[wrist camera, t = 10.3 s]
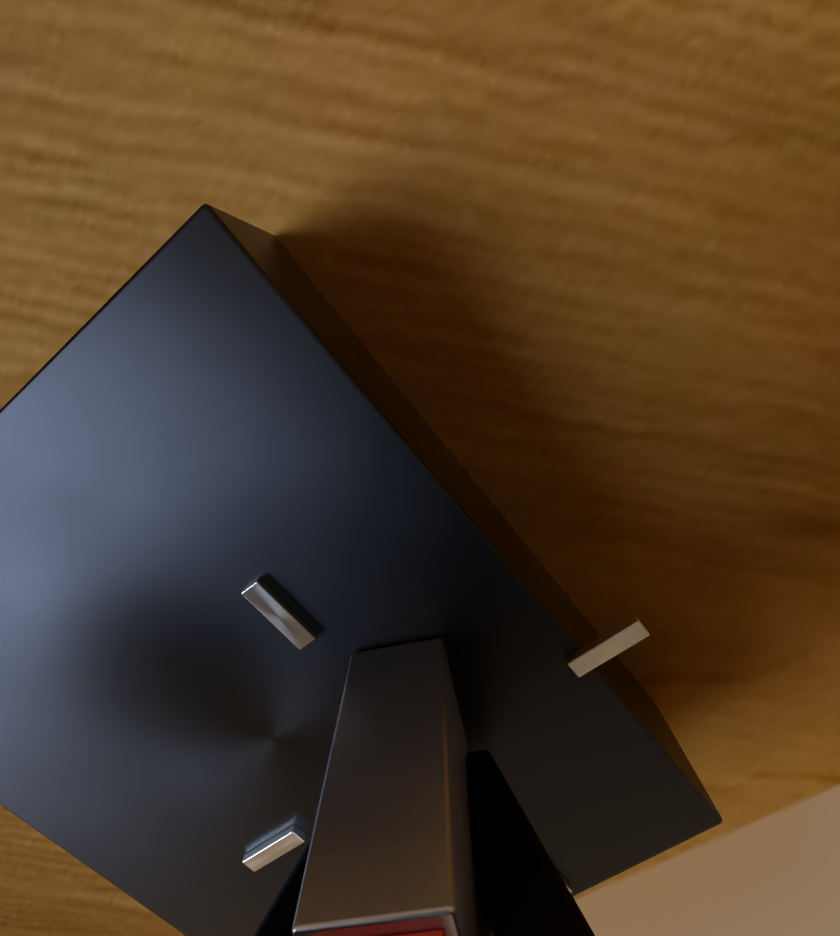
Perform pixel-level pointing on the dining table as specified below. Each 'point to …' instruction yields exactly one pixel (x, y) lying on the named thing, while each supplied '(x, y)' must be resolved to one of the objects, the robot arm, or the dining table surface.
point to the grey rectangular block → (395, 807)
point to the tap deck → (275, 598)
